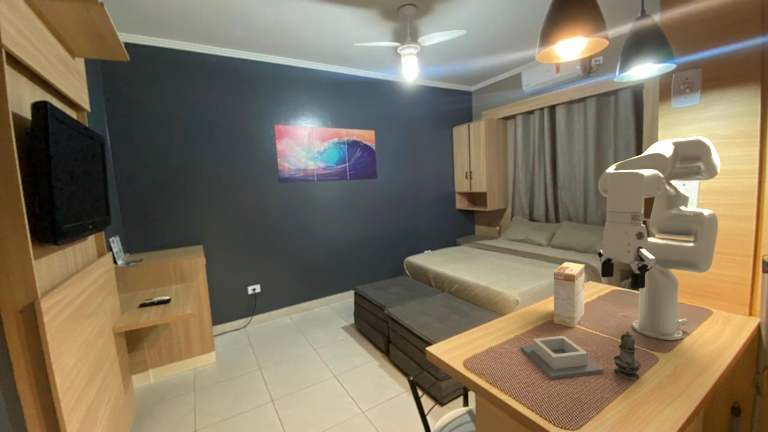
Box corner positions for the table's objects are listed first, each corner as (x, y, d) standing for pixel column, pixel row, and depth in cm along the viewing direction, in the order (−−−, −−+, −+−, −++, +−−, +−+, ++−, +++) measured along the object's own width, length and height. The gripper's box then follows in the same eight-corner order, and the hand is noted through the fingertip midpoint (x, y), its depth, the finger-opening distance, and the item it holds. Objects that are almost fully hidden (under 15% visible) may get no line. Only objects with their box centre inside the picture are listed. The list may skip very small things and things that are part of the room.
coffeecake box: (564, 309, 124) (564, 261, 122) (585, 313, 120) (585, 264, 117) (552, 322, 114) (552, 271, 112) (575, 328, 109) (575, 274, 107)
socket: (565, 344, 99) (565, 331, 99) (603, 372, 84) (603, 357, 84) (520, 349, 98) (520, 335, 97) (551, 379, 83) (551, 363, 82)
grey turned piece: (646, 381, 80) (647, 337, 78) (620, 379, 81) (621, 336, 80) (632, 368, 86) (634, 326, 84) (608, 366, 87) (609, 325, 85)
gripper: (670, 221, 73) (666, 292, 74) (611, 214, 90) (609, 272, 92) (640, 222, 72) (637, 294, 74) (586, 215, 89) (584, 274, 91)
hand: (621, 282), depth 83 cm, fingers open, 9 cm apart
